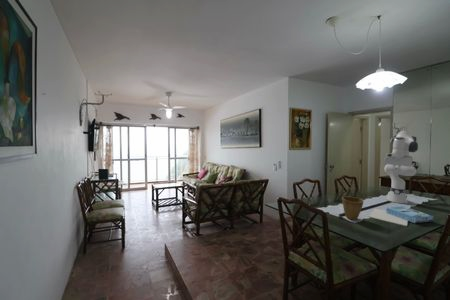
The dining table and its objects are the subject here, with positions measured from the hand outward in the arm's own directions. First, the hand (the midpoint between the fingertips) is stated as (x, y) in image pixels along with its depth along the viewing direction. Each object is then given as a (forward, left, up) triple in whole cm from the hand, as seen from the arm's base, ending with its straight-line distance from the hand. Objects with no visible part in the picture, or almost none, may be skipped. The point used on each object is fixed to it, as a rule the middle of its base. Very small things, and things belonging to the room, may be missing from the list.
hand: (396, 170), depth 195 cm
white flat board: (+26, 0, -37) cm, 46 cm away
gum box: (+10, +2, -34) cm, 35 cm away
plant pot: (+55, -22, -37) cm, 70 cm away
